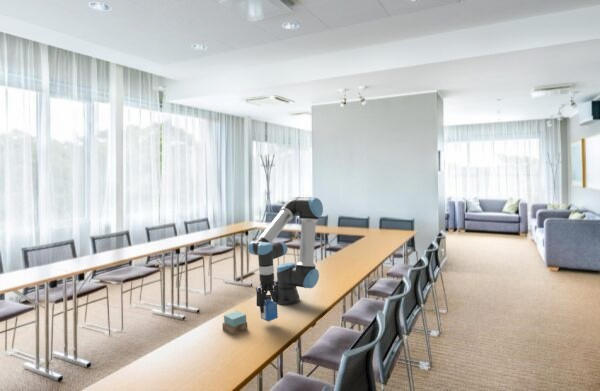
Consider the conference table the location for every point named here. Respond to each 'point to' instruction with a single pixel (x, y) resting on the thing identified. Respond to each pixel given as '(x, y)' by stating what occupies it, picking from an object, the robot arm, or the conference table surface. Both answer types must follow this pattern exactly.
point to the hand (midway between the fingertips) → (269, 316)
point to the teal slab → (235, 318)
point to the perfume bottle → (270, 309)
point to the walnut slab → (234, 328)
